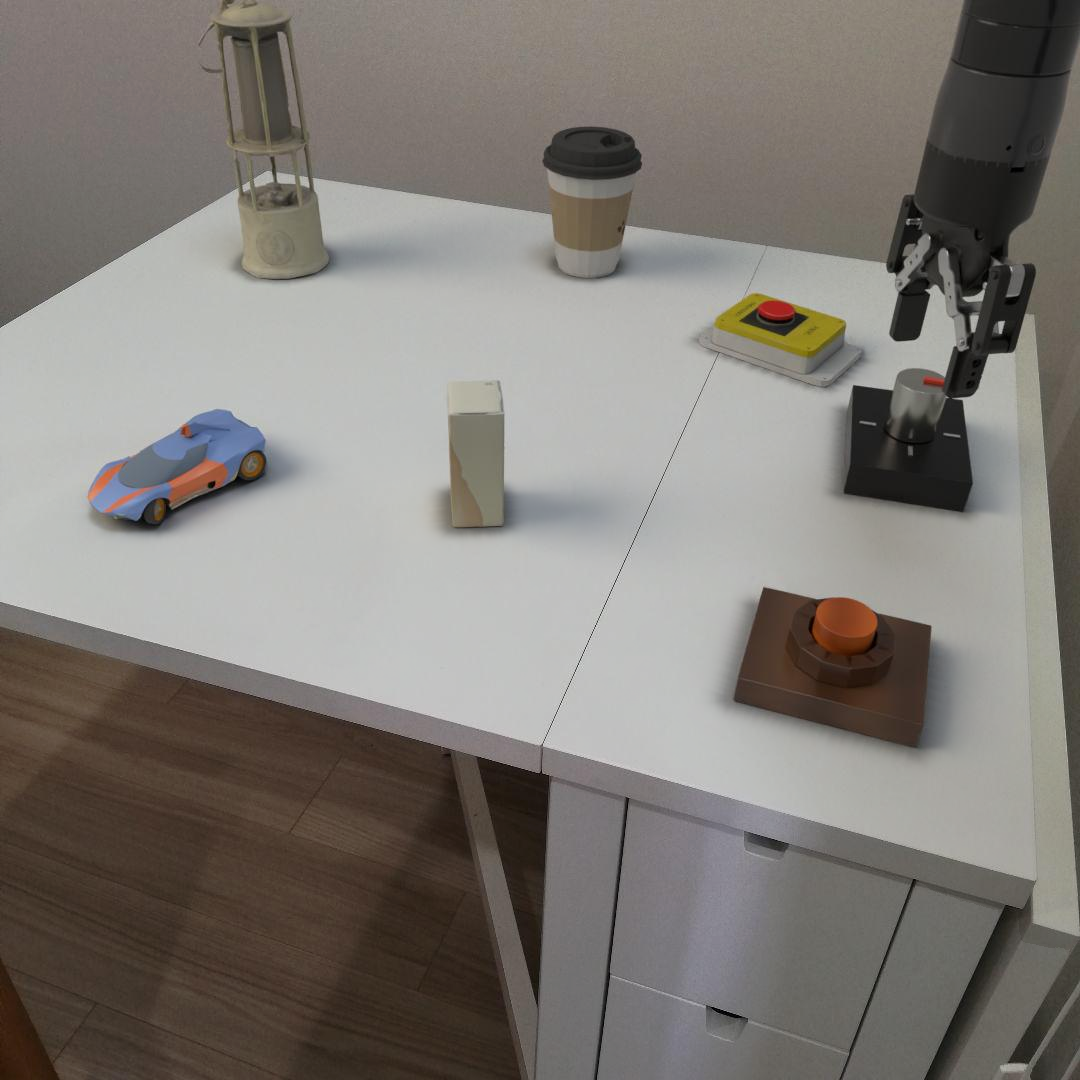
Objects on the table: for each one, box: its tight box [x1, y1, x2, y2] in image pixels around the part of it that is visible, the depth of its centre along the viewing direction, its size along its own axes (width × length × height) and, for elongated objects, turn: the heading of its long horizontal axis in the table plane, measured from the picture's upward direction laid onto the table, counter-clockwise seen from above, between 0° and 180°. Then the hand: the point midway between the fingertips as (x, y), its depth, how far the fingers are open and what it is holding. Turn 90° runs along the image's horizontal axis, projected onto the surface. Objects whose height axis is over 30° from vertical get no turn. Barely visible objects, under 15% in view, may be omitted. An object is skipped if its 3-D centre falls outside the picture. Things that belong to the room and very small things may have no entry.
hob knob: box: [884, 367, 948, 443], centre depth 92 cm, size 4×4×5 cm
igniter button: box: [812, 596, 878, 656], centre depth 71 cm, size 4×4×2 cm
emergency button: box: [698, 292, 863, 388], centre depth 110 cm, size 9×4×15 cm
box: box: [446, 379, 505, 528], centre depth 85 cm, size 5×4×11 cm
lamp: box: [198, 0, 330, 280], centre depth 118 cm, size 10×13×30 cm
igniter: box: [733, 586, 933, 748], centre depth 73 cm, size 12×10×4 cm
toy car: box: [87, 408, 267, 525], centre depth 88 cm, size 8×15×5 cm, turn 138°
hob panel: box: [842, 384, 974, 512], centre depth 95 cm, size 14×10×3 cm
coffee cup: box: [541, 125, 643, 279], centre depth 123 cm, size 11×11×15 cm
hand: (929, 366), depth 77 cm, fingers open, 8 cm apart
